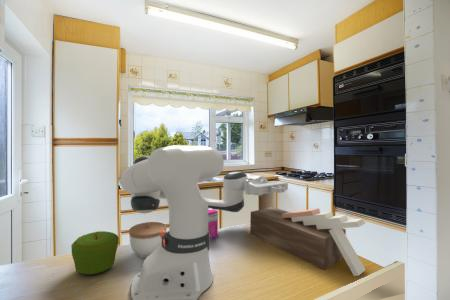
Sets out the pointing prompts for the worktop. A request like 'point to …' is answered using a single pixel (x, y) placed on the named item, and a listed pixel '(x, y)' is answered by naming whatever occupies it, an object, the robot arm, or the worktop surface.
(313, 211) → the domino
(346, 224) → the domino
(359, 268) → the domino
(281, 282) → the worktop surface
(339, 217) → the domino
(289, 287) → the worktop surface
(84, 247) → the apple
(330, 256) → the domino stand
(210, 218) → the supplement box
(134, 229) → the lidded bowl
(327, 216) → the domino
